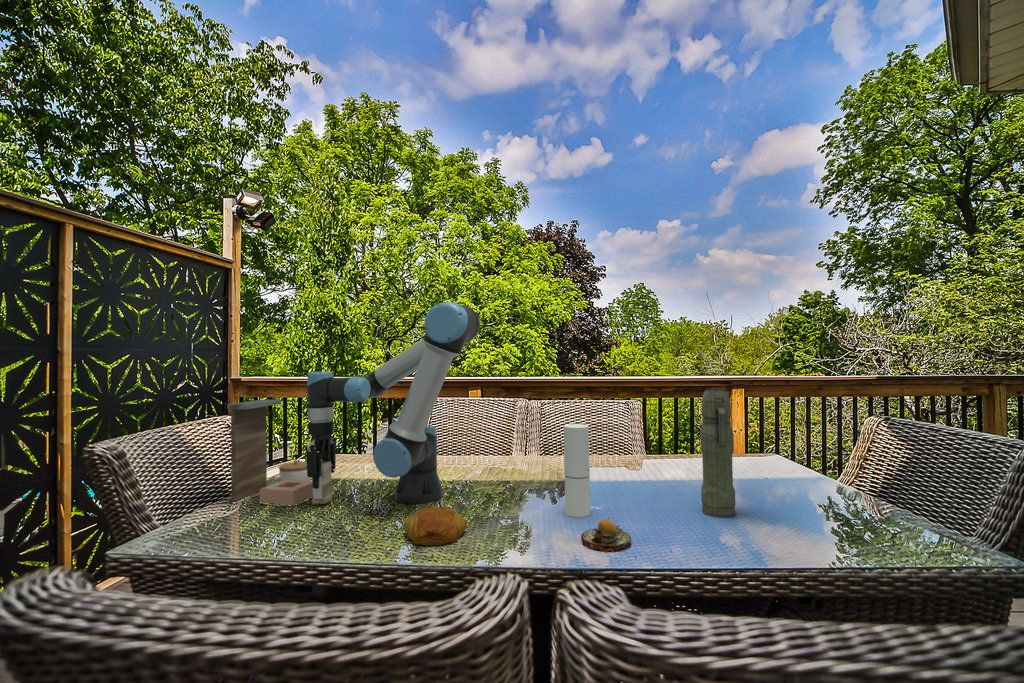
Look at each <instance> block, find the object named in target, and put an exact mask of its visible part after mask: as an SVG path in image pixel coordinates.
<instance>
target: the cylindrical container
mask: <svg viewBox="0 0 1024 683" xmlns="http://www.w3.org/2000/svg"><path fill="white" fill-rule="evenodd" d="M589 429H590V428H589V425H588V424H581V423H576V424H575V423H573V424H572V423H571V424H565V425H563V453H564V454H563V456H564V462H563V463H564V504H565V505H564V507H565V508H564V510H565V511H564V512H565V513H564V514H565V515H567V516H569V517H573V518H584V517H588V516H590V515H591V485H590V484H591V481H590V480H591V478H590V476H591V475H590V471H591V470H590V433H589V432H590V430H589Z"/></svg>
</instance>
